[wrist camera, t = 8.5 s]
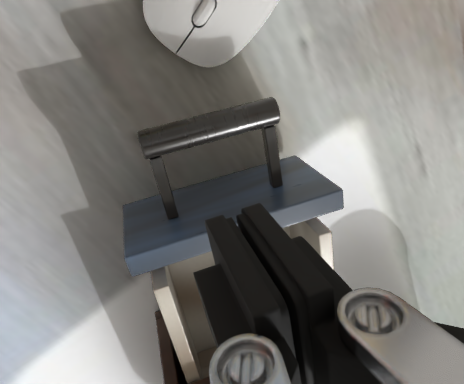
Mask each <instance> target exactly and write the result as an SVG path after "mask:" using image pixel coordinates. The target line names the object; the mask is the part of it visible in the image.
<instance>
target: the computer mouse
mask: <svg viewBox="0 0 464 384" xmlns="http://www.w3.org/2000/svg"><path fill="white" fill-rule="evenodd" d="M278 2H279V0H143V13H144V17H145V21H146V23H147V25H148V27H149V29H150V30H151V32H152V33H153V34H154V36H155V37H156V38H157V39H158V40H159V41H160V42H161V43H162V44H163V45H164V46H166V47H167V48H168V49H169V50H171V51H172V52H174V53H175V54H176V55H178V56H180V57H181V58H183V59H184V60H186V61H188V62H190V63H193V64H195V65H198V66H202V67H216V66H219V65H222V64H224V63H225V62H227V61H229V60H230V59H231V58H233V57H234V56H235V55H237V54H238V53H239V52H240V51H241V50H242V49H243V48H244V47H245V46H246V45H247V44H248V43H249V41H250V40H251V39H252V38H253V37H254V36H255V34H256V33H257V32H258V31H259V29H260V28H261V27H262V25H263V24H264V23H265V21H266V20H267V19H268V17H269V16H270V14H271V13H272V11H273V10H274V8H275V6H276V5H277V3H278Z"/></svg>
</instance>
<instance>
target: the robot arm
mask: <svg viewBox="0 0 464 384" xmlns="http://www.w3.org/2000/svg"><path fill="white" fill-rule="evenodd" d="M241 213H242V214H239V215H236V219H237V225H238V226H237V225H236V223H235V222H234V220H233V219H232V217H230V218H225V217H224V215H219V216H216V217H213V218H210V219H207V220H205V221H204V222H205V227H206V230H207V234H208V238H209V242H210V246H211V250H212V254H213V258H214V262H215V265H214V266H211V267H208V268H205V269H202V270H199V271H196V272H193V274H194V278H195V281H196V285H197V288H198V292H199V295H200V298H201V302H202V305H203V308H204V311H205V314H206V317H207V321H208V324H209V327H210V330H211V333H212V336H213V339H214V342H215V345H216V348H217V350H216V351H215V352H214V354H213V356H212V359H211V361H210V367H209V377H210V384H464V329H463V328H459V327H454V326H449V325H445V324H440V323H436V322H433V321H431V320H430V319H429V318H427V317H426V316H424V315H423V314H422V313H420V312H419V311H418V310H416V309H415V308H413V307H412V306H411V305H409V304H408V303H406V302H405V301H404V300H402V299H401V298H400V297H398V296H396V295H394V294H392V293H391V292H388V291H385V290H382V289H377V288H361V289H356V290H354V291H353V290H352V289H351V288H350V287H349V286H348V285H347V284H346V283H345V282H344V281H343V280H342V278H341V277H340V276H339V275H338V274H337V273H336V272H335V271H334V270H333V269H332V268H331V267H330V266H329V264H328V263H327V262H326V261H325V260H324V259H323V258H322V257H321V256H320V255H319V254H318V253H317V251H316V250H315V249H314V248H313V247H312V246H311V245H310V244H309V243H308V242H307V241H306V240H305V239H304V238H303V237H302V236H298V237H295V238H292V239H291V238H290V237H289V236H288V234H287V233H286V232H285V231H284V230H283V229H282V227H281V226H280V225H279V224H278V223H277V222H276V220H275V219H274V218H273V217H272V216H271V215H270V213H269V212H268V211H267V210H266V209H265V208H264V207H263V205H262V204H261V203H257V204H254V205H251V206H248V207H245V208H242V209H241Z"/></svg>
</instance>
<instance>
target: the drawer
mask: <svg viewBox="0 0 464 384" xmlns="http://www.w3.org/2000/svg"><path fill="white" fill-rule="evenodd" d="M279 121H280V111H279V107H278V104H277V102H276V100H275V99H274V98H273V97H269V98H265V99H261V100H257V101H254V102H250V103H246V104H242V105H238V106H234V107H230V108H226V109H222V110H219V111H215V112H211V113H207V114H203V115H199V116H195V117H191V118H187V119H183V120H180V121H176V122H172V123H168V124H164V125H160V126H156V127H152V128H148V129H145V130H141V131H138V132H137V135H138V139H139V143H140V146H141V149H142V152H143V155H144V158H145V159H150V163H151V166H152V169H153V173H154V176H155V179H156V182H157V186H158V189H159V192H160V195H157V196H153V197H150V198H146V199H143V200H139V201H136V202H132V203H129V204H125V205H123V231H124V259H125V262H126V264H127V267H128V269H129V272H130V274H131V276H132V277H133V276H137V275H140V274H143V273H146V272H149V271H151V278H152V285H153V292H154V294H155V297H156V300H157V302H158V305H159V308H160V311H161V313H162V316H163V319H164V321H165V324H166V327H167V329H168V332H169V335H170V338H171V340H172V343H173V346H174V348H175V351H176V354H177V357H178V359H179V362H180V365H181V367H182V370H183V373H184V375H185V378H186V381H187V384H190V383H193V382H196V381H198V380H201V379H203V378H206V377H209V367H210V361H211V359H212V356H213V354H214V352H215V351H216V350H217V348H216V345H215V342H214V339H213V336H212V333H211V330H210V327H209V324H208V321H207V317H206V314H205V311H204V308H203V305H202V302H201V298H200V295H199V292H198V288H197V285H196V281H195V278H194V274H193V272H196V271H199V270H202V269H205V268H208V267H211V266H214V265H215V262H214V258H213V254H212V250H211V246H210V242H209V238H208V234H207V230H206V227H205V222H204V221H205V220H207V219H210V218H213V217H216V216H219V215H224V217H225V218H230V217H232V219H233V220H234V222H235V223H236V225H237V219H236V215H239V214H242V213H241V209H242V208H245V207H248V206H251V205H254V204H257V203H261V204H262V205H263V207H264V208H265V209H266V210H267V211H268V212H269V213H270V215H271V216H272V217H273V218H274V219H275V220H276V222H277V223H278V224H279V225H280V226H281V227H282V229H283V230H284V231H285V232H286V233H287V234H288V236H289V237H290V238H291V239H292V238H295V237H298V236H302V237H303V238H304V239H305V240H306V241H307V242H308V243H309V244H310V245H311V246H312V247H313V248H314V249H315V250H316V251H317V253H318V254H319V255H320V256H321V257H322V258H323V259H324V260H325V261H326V262H327V263H328V264H329V266H330V267H331V268H332V269H333V270H334V262H333V247H332V233H331V231H330V230H329V229H328V228H327V227H326V226H325V225H324V224H323V223H322V222H321V221H320V220H319V219H318V218H317V217H319V216H322V215H325V214H328V213H331V212H334V211H337V210H340V209H343V207H344V206H343V190H342V189H341V188H340V187H339V186H337V185H336V184H334V183H333V182H332V181H330V180H329V179H327V178H326V177H325V176H323V175H322V174H321V173H319V172H318V171H316V170H315V169H314V168H312V167H311V166H309V165H308V164H307V163H305V162H304V161H302V160H301V159H300V158H298V157H297V156H291V157H288V158H284V159H281V160H280V159H279V152H278V144H277V137H276V129H275V126H274V125H275V124H278V123H279ZM257 129H262V135H263V142H264V148H265V155H266V162H267V164H264V165H260V166H257V167H253V168H250V169H246V170H243V171H239V172H236V173H233V174H229V175H226V176H222V177H219V178H215V179H212V180H208V181H205V182H201V183H198V184H195V185H191V186H188V187H184V188H181V189H177V190H174V191H171V187H170V184H169V180H168V177H167V173H166V170H165V167H164V163H163V160H162V156H161V155H165V154H169V153H172V152H176V151H180V150H183V149H187V148H191V147H194V146H198V145H202V144H205V143H209V142H213V141H216V140H220V139H224V138H227V137H231V136H235V135H239V134H242V133H246V132H250V131H253V130H257ZM237 226H238V225H237Z"/></svg>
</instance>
